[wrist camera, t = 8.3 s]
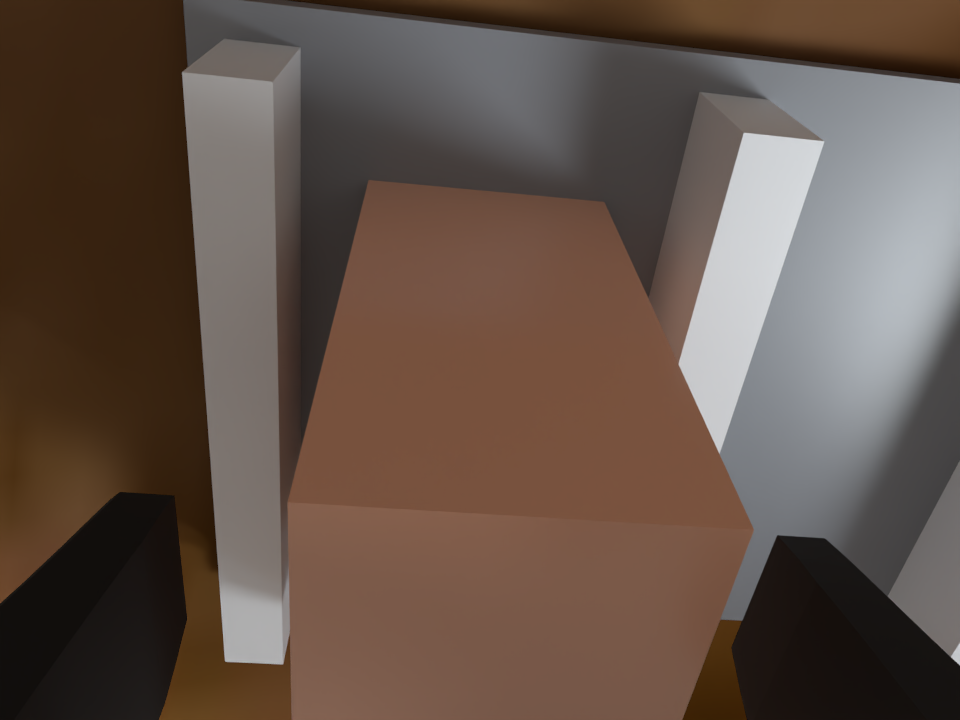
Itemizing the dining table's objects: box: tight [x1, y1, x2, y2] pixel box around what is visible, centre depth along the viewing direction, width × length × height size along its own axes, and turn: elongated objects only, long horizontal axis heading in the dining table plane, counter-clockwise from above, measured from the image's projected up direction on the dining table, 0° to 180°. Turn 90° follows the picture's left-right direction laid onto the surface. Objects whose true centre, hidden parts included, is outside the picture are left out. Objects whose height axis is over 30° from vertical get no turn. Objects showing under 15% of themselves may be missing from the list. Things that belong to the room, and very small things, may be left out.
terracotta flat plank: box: [288, 180, 754, 720], centre depth 11 cm, size 4×7×7 cm, turn 174°
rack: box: [182, 0, 960, 665], centre depth 13 cm, size 15×11×2 cm
